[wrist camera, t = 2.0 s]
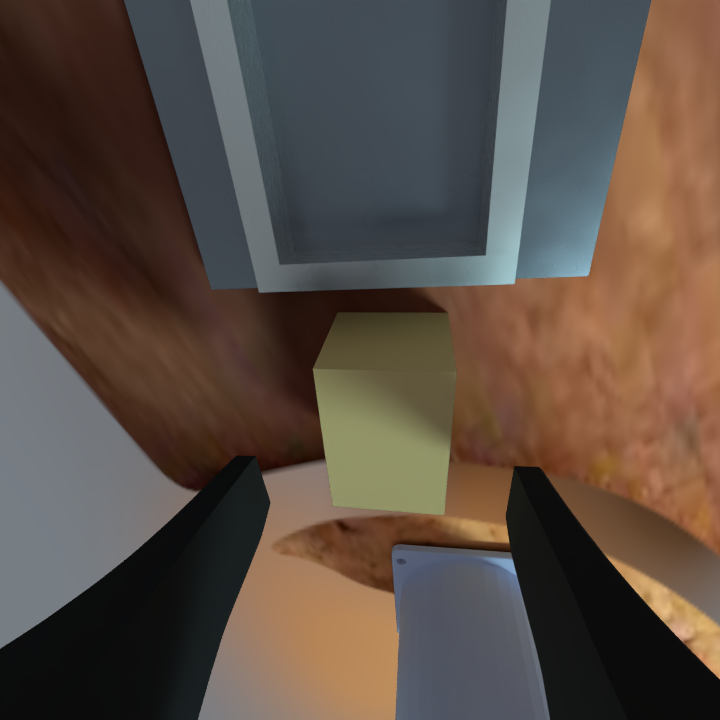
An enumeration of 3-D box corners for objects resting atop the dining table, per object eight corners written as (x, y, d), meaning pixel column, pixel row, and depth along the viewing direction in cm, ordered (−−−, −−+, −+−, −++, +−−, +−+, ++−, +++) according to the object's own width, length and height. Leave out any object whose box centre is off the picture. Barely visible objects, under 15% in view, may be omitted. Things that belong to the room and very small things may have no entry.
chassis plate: (576, 265, 12) (609, 295, 10) (224, 279, 14) (189, 307, 12) (690, -275, 7) (807, -449, 5) (108, -135, 9) (10, -216, 7)
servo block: (439, 436, 17) (443, 514, 13) (349, 431, 17) (332, 506, 14) (447, 311, 14) (456, 372, 10) (338, 311, 14) (312, 368, 11)
